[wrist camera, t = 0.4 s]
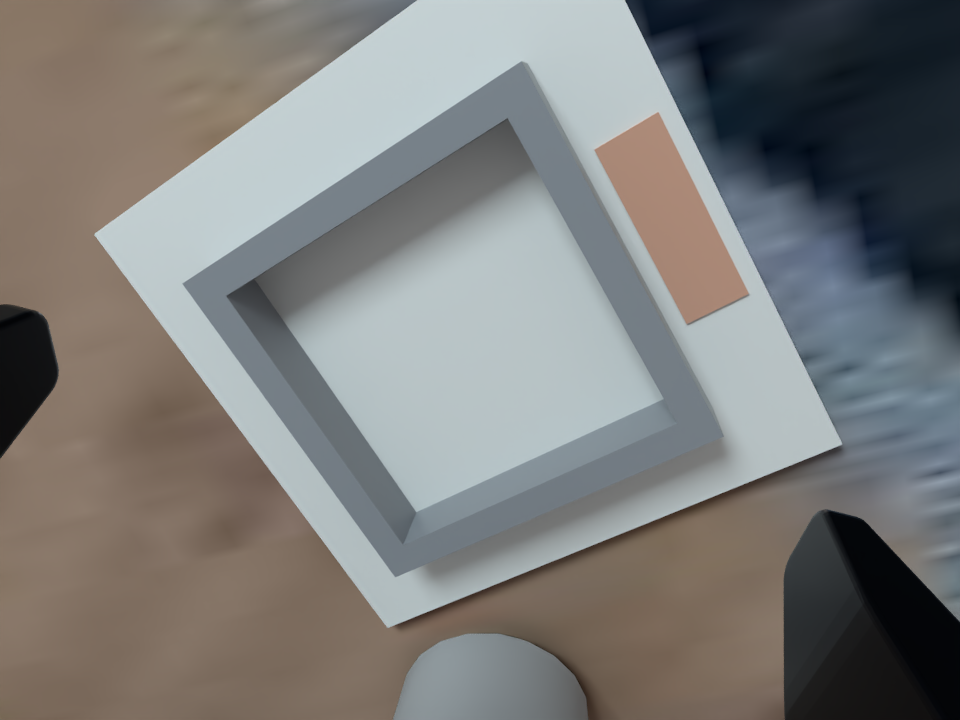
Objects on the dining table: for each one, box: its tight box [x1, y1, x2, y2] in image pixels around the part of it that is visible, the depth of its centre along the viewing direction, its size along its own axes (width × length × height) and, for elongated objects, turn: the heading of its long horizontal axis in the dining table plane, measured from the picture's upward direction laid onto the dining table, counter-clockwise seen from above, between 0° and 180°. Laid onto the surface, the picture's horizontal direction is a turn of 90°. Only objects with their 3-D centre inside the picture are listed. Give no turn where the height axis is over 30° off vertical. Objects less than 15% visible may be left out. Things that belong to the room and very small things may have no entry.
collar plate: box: [94, 0, 842, 628], centre depth 22 cm, size 18×18×3 cm
